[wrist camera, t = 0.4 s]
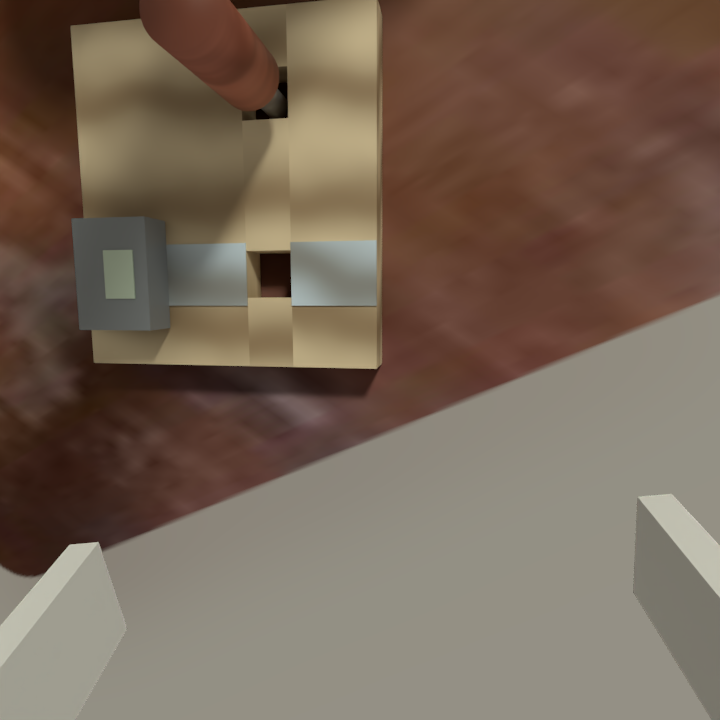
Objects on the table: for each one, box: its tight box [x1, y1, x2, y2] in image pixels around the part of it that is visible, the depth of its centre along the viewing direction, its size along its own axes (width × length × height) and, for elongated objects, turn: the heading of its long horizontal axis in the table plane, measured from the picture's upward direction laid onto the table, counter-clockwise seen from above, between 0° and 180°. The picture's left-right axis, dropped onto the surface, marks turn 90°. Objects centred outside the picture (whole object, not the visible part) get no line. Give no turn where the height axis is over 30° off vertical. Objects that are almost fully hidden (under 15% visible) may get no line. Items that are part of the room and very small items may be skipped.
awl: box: [139, 0, 288, 119], centre depth 29 cm, size 4×4×13 cm
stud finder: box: [71, 216, 170, 331], centre depth 34 cm, size 7×5×2 cm
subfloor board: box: [70, 0, 382, 369], centre depth 35 cm, size 22×20×3 cm
